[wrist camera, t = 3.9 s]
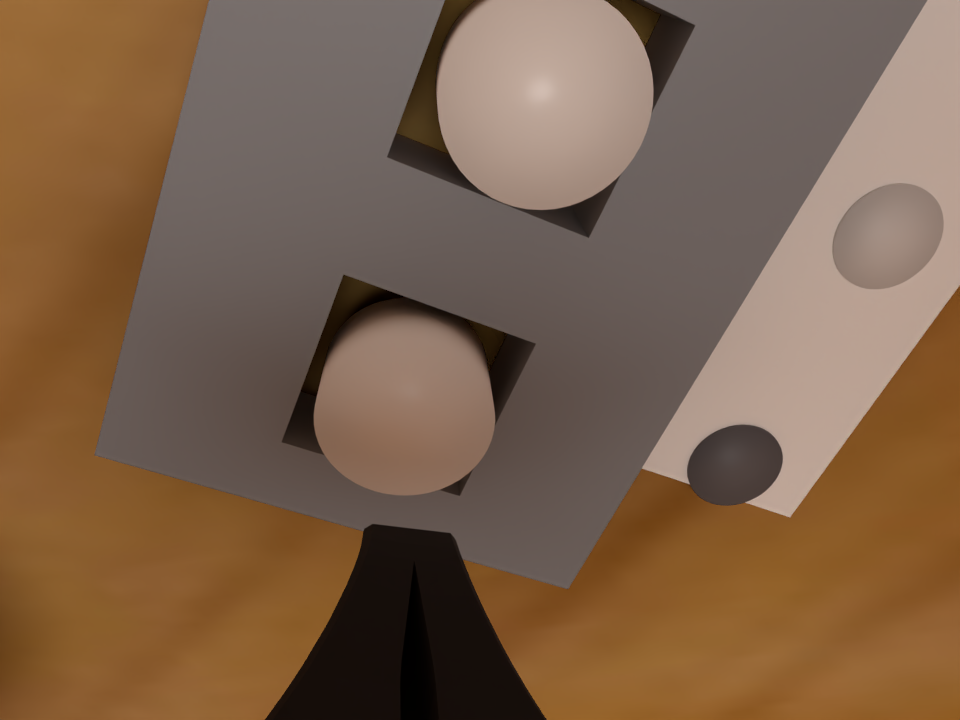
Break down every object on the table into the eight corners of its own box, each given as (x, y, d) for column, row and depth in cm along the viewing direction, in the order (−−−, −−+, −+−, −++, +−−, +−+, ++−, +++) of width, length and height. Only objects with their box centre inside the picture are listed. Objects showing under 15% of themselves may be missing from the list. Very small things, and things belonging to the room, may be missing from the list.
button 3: (513, 330, 19) (524, 376, 17) (451, 459, 20) (455, 514, 18) (356, 274, 18) (347, 315, 16) (303, 412, 19) (290, 466, 17)
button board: (1086, -394, 14) (1203, -452, 12) (554, 529, 23) (567, 588, 21) (459, -849, 11) (467, -1029, 9) (128, 401, 20) (94, 455, 18)
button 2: (659, 29, 16) (692, 42, 14) (573, 205, 17) (593, 239, 15) (481, -57, 15) (489, -56, 13) (407, 137, 16) (405, 164, 14)
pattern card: (1210, -82, 17) (1232, -83, 16) (778, 516, 23) (785, 527, 23) (1027, -197, 16) (1045, -201, 15) (628, 466, 22) (632, 477, 22)
